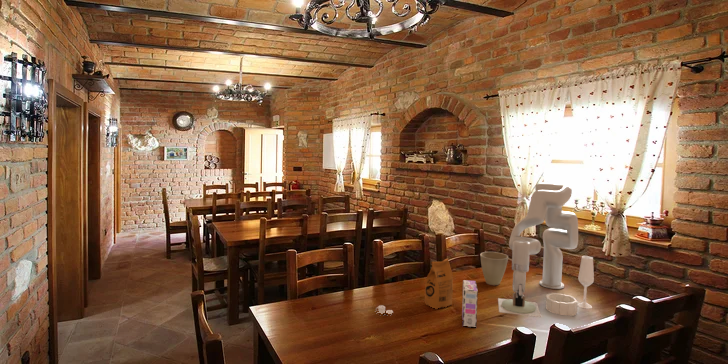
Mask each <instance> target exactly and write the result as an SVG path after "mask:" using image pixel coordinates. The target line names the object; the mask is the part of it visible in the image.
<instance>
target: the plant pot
mask: <svg viewBox="0 0 728 364" xmlns="http://www.w3.org/2000/svg"><path fill="white" fill-rule="evenodd" d="M479 256H480V265H481V270H482V274H483V277H484V281H485V284H487V285H489V286H499V285H500V284H501V282H502V280H503V277H504V274H505V272H506V269H507V265H508V261H509V255H507V254H505V253H501V252H496V251H484V252H481V253H480V254H479Z"/></svg>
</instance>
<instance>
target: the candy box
mask: <svg viewBox="0 0 728 364" xmlns="http://www.w3.org/2000/svg"><path fill="white" fill-rule="evenodd" d="M478 293H479V291H478V286H477V282H476V280H470V279H469V280H467V279H466V280H465V279H464V280H462V303H461V304H462V305H461V307H462V309H461V310H462V311H461V319H462V320H463V321H462V327H463V326H468V327H467V328H471V327H476V328H477V317H478V316H477V313H478V295H479V294H478Z"/></svg>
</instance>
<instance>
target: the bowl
mask: <svg viewBox="0 0 728 364" xmlns="http://www.w3.org/2000/svg"><path fill="white" fill-rule="evenodd" d="M578 303H579V302H578V299H577V298H575V297H574V296H572V295H569V294H565V293H555V292H554V293H548V294H546V295H545V309H546V310H547V311H549V312H550V313H553V314H556V315H562V316H571V317H574V316H576V315H578V306H577V304H578Z"/></svg>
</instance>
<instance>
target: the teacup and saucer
mask: <svg viewBox="0 0 728 364" xmlns="http://www.w3.org/2000/svg"><path fill="white" fill-rule="evenodd" d="M377 309H378V310H377ZM376 311H379V312H377V313H376V314H378V313H381V314H383V313H385V311H386V313H388V314H391V315H393V314H394V311H393V310H392V309H387V310H386V306H385V305H378V306H377V307H376V308H375V312H376ZM392 313H393V314H392Z"/></svg>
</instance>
